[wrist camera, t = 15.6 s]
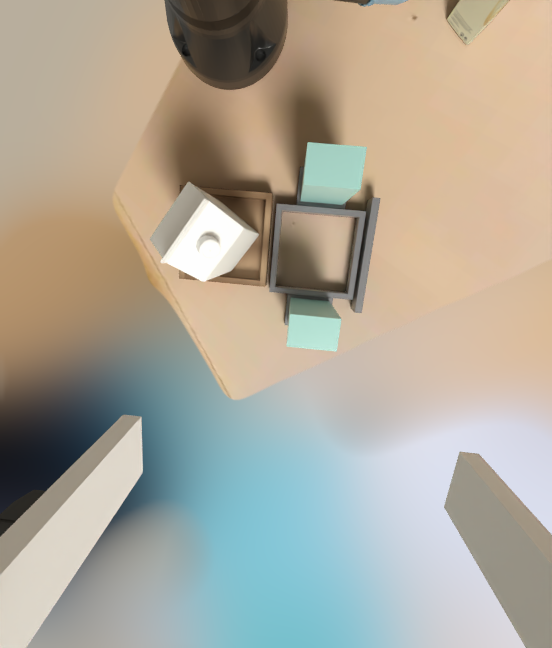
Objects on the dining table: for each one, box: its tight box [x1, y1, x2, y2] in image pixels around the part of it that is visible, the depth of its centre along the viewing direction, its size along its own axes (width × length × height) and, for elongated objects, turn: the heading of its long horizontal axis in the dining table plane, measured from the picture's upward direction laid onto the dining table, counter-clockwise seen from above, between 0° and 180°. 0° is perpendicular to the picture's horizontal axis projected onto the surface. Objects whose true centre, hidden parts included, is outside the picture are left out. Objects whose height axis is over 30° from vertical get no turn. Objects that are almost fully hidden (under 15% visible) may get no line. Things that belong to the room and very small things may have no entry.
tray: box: [179, 185, 273, 287], centre depth 45 cm, size 13×13×3 cm
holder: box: [269, 142, 380, 351], centre depth 40 cm, size 23×14×13 cm, turn 175°
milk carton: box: [150, 182, 259, 282], centre depth 36 cm, size 7×7×19 cm
